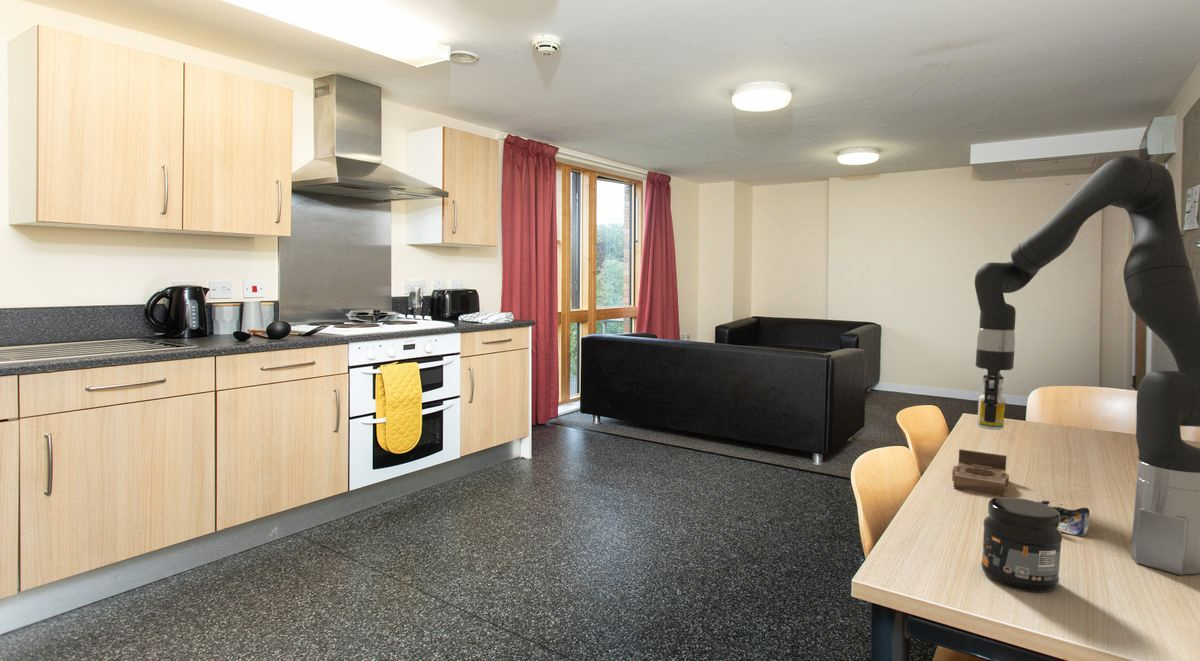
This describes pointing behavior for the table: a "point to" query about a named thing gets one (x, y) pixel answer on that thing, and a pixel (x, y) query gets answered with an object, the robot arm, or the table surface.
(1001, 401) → the supplement bottle
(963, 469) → the brown bottle holder
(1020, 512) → the supplement container
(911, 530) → the table surface
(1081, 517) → the snack package
